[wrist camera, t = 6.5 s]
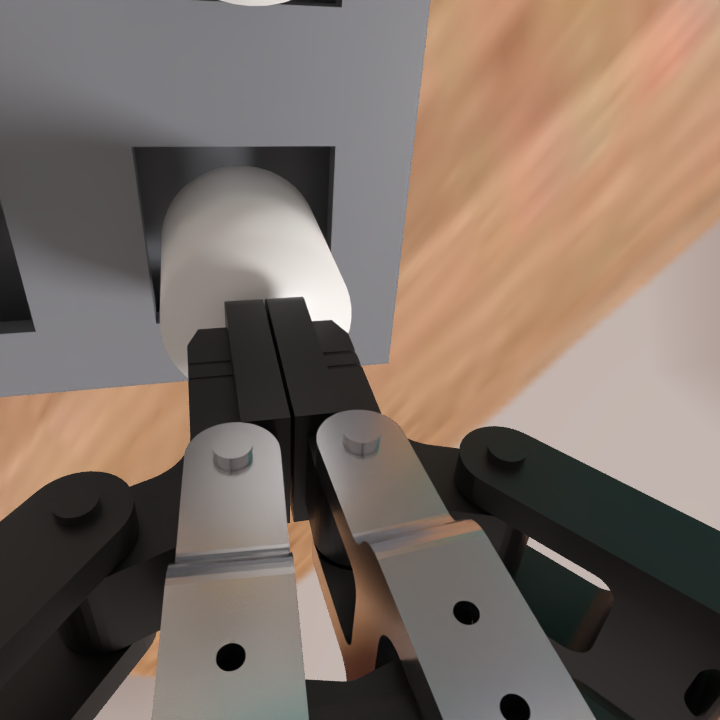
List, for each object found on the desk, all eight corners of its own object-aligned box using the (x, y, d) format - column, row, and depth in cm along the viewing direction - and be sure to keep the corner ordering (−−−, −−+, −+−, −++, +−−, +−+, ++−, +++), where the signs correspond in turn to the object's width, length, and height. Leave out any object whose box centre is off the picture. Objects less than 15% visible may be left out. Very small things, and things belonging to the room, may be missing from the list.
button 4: (152, 166, 14) (148, 240, 11) (319, 164, 15) (357, 232, 12) (170, 311, 16) (170, 406, 13) (314, 302, 17) (346, 390, 14)
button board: (-683, -616, 9) (-1002, -808, 6) (423, -389, 12) (483, -457, 10) (-184, 349, 18) (-237, 417, 15) (364, 312, 22) (388, 363, 19)
